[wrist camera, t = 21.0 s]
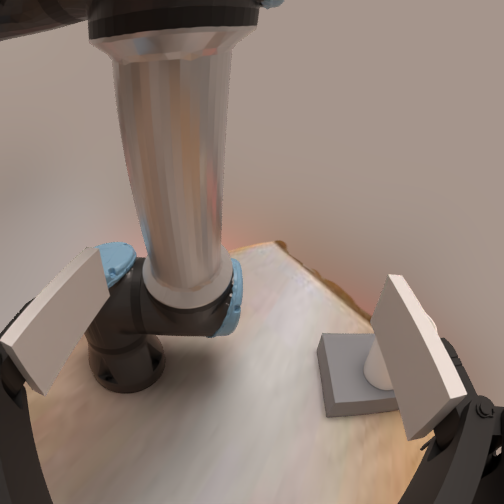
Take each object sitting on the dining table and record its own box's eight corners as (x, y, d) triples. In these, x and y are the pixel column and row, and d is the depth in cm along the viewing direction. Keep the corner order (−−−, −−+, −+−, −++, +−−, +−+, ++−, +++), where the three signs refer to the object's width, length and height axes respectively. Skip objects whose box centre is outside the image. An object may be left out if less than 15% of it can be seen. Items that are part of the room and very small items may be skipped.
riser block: (326, 417, 39) (335, 402, 37) (316, 350, 53) (322, 333, 51) (406, 408, 39) (418, 393, 37) (385, 349, 53) (393, 333, 51)
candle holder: (413, 367, 42) (442, 319, 37) (396, 403, 36) (430, 355, 30) (372, 345, 48) (393, 296, 42) (349, 377, 41) (373, 326, 36)
